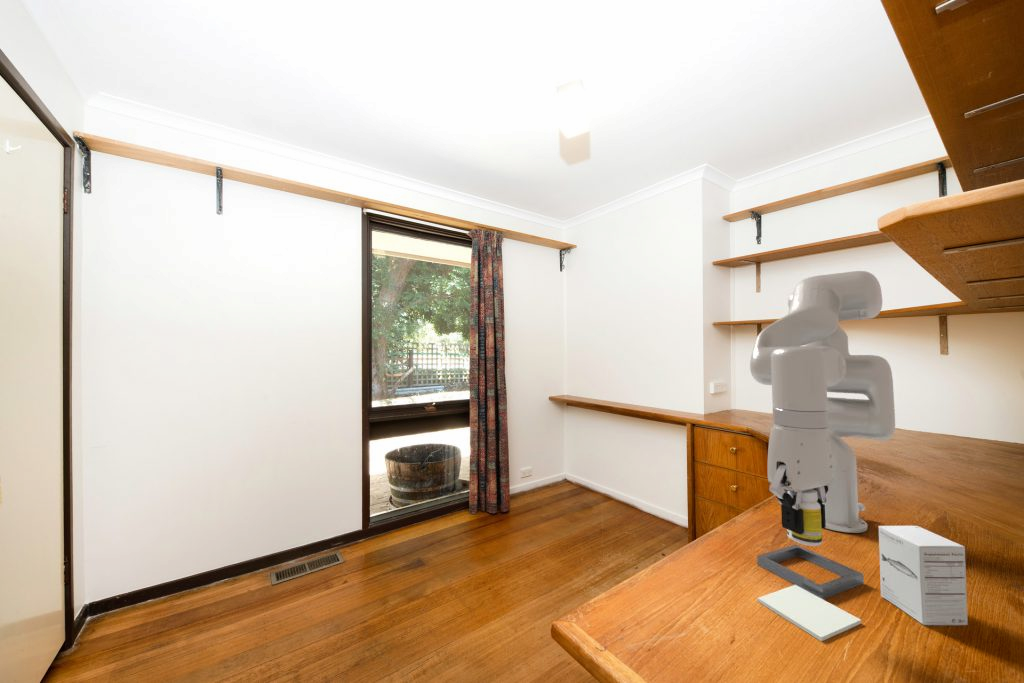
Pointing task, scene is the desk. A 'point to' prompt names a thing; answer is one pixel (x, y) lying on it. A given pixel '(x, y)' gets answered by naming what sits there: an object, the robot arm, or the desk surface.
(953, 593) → the supplement box
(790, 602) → the mat
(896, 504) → the desk surface
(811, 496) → the supplement bottle
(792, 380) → the robot arm
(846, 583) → the frame
